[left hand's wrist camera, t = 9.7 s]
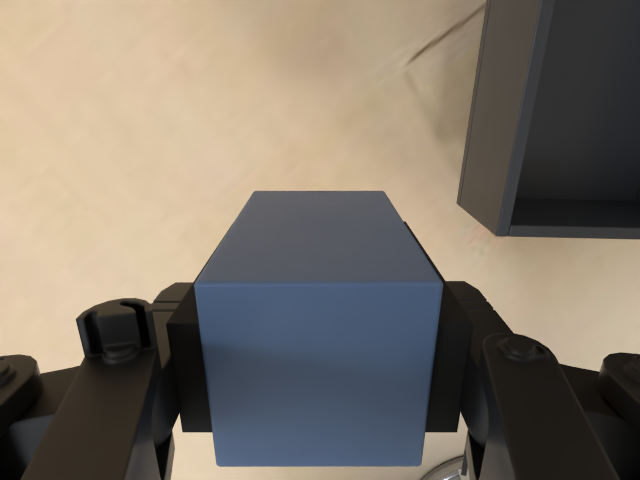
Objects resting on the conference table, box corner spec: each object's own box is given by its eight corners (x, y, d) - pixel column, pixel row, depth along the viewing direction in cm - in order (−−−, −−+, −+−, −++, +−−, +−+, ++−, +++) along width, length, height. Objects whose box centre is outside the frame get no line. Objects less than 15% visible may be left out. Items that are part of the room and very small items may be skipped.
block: (377, 305, 15) (421, 468, 9) (260, 305, 15) (215, 468, 9) (384, 190, 14) (445, 282, 7) (253, 190, 14) (192, 282, 7)
